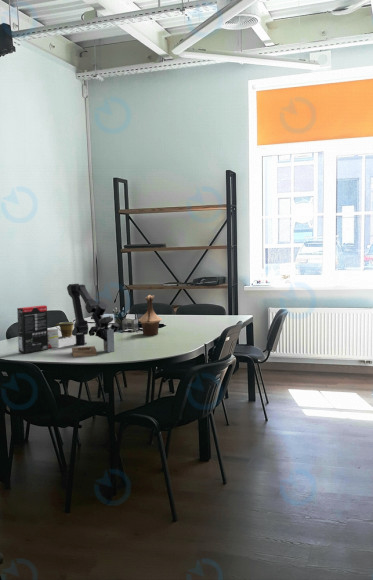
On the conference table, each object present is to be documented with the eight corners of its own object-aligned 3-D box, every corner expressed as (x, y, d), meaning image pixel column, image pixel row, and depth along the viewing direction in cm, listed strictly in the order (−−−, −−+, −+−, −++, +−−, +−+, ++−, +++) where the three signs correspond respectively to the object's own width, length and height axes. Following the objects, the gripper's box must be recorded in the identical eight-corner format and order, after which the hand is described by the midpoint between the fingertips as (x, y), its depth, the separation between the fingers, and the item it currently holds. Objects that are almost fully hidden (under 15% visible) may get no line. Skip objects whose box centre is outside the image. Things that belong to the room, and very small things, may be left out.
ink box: (44, 348, 310) (43, 329, 309) (44, 347, 315) (43, 328, 314) (58, 347, 313) (58, 328, 312) (58, 345, 317) (57, 327, 317)
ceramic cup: (76, 335, 356) (75, 321, 356) (71, 338, 346) (70, 323, 346) (58, 335, 358) (57, 321, 357) (53, 338, 348) (52, 324, 347)
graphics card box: (42, 348, 310) (40, 304, 308) (49, 349, 306) (47, 305, 304) (18, 353, 297) (15, 307, 295) (24, 354, 293) (22, 308, 291)
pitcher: (161, 336, 344) (160, 295, 341) (137, 336, 344) (135, 296, 342) (163, 332, 361) (162, 293, 359) (140, 332, 362) (138, 294, 359)
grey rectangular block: (103, 351, 295) (103, 329, 294) (110, 350, 298) (109, 328, 297) (107, 352, 291) (107, 330, 290) (114, 351, 294) (113, 329, 293)
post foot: (72, 352, 294) (71, 347, 293) (94, 351, 297) (94, 346, 297) (73, 357, 281) (73, 351, 281) (96, 355, 285) (96, 349, 284)
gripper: (90, 313, 290) (101, 334, 282) (117, 310, 302) (128, 329, 294) (83, 325, 296) (94, 346, 289) (110, 321, 308) (121, 341, 301)
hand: (110, 340), depth 293 cm, fingers closed on grey rectangular block, 4 cm apart
